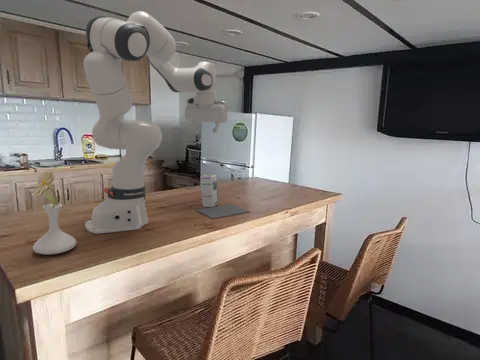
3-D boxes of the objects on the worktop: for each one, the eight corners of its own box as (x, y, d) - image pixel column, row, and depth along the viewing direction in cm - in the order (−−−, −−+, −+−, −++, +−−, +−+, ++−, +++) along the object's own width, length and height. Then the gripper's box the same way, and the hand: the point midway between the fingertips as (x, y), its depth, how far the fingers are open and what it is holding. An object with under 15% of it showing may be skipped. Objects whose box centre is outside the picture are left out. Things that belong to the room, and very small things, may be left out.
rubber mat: (212, 219, 131) (212, 218, 131) (195, 210, 142) (195, 209, 142) (250, 212, 143) (250, 211, 143) (232, 204, 154) (232, 203, 154)
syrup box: (213, 207, 147) (211, 176, 145) (202, 206, 149) (200, 175, 147) (218, 204, 153) (216, 174, 150) (207, 203, 154) (205, 174, 152)
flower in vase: (33, 246, 98) (26, 165, 93) (75, 240, 103) (70, 164, 99) (32, 263, 87) (24, 173, 82) (79, 256, 93) (74, 171, 88)
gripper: (230, 101, 142) (229, 132, 145) (190, 100, 149) (190, 130, 152) (224, 100, 136) (223, 133, 139) (183, 99, 143) (183, 130, 146)
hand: (205, 131), depth 146 cm, fingers open, 8 cm apart
